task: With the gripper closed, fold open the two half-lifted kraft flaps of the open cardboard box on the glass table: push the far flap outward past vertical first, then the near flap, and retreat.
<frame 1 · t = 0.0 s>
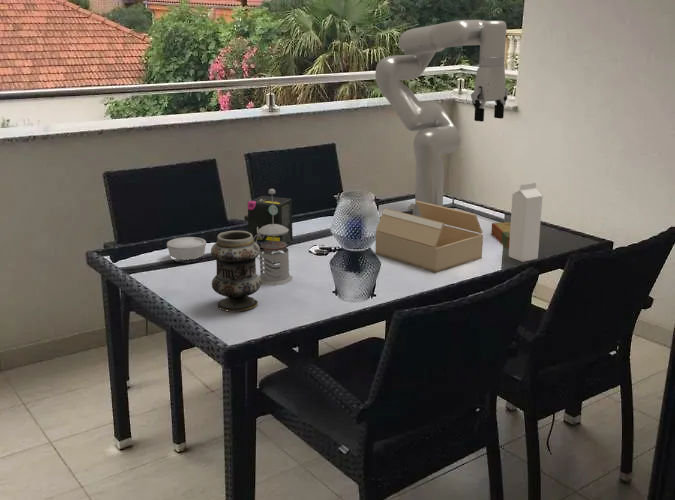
hand: (488, 119, 235), 37 cm above the table, tool pointing down, fingers open, 9 cm apart
milk: (523, 258, 221), on the table
tampon box: (271, 246, 235), on the table
apothecary jar: (237, 305, 187), on the table
near flap: (409, 226, 215), point 10 cm above the table, hinge at 60.0°
carton: (511, 242, 238), on the table
far flap: (448, 216, 225), point 10 cm above the table, hinge at 60.0°
kraft box: (428, 255, 223), on the table
french press: (272, 279, 205), on the table
ramekin: (187, 259, 223), on the table
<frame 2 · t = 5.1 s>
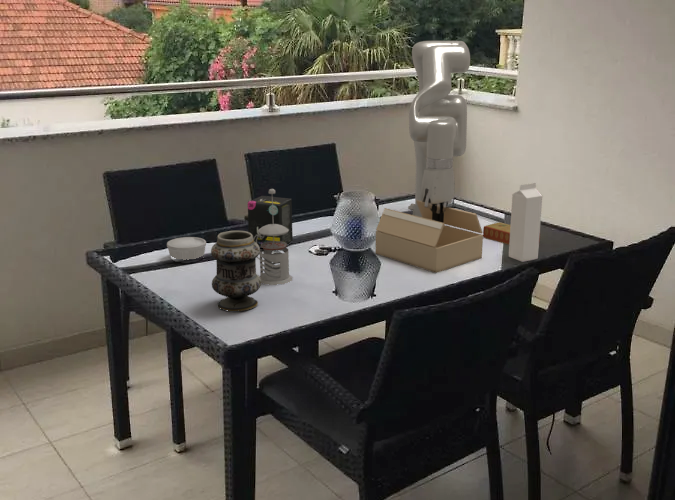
hand: (437, 224, 223), 9 cm above the table, tool pointing down, fingers closed
far flap: (448, 216, 226), point 11 cm above the table, hinge at 62.3°, touching gripper
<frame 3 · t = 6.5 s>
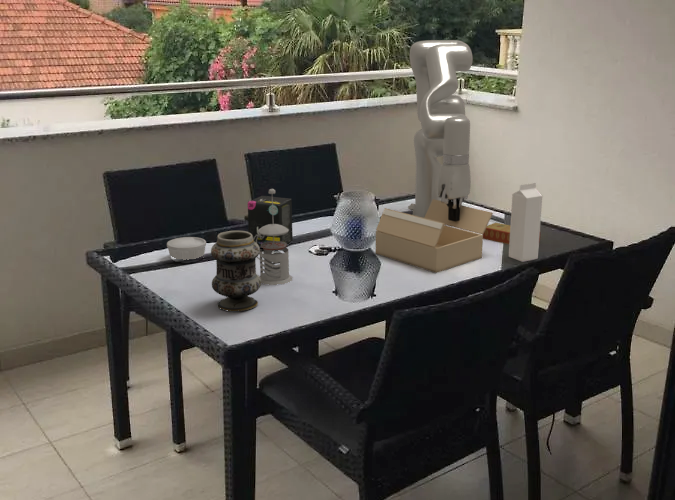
hand: (453, 220, 227), 9 cm above the table, tool pointing down, fingers closed
far flap: (457, 216, 228), point 10 cm above the table, hinge at 126.6°, touching gripper
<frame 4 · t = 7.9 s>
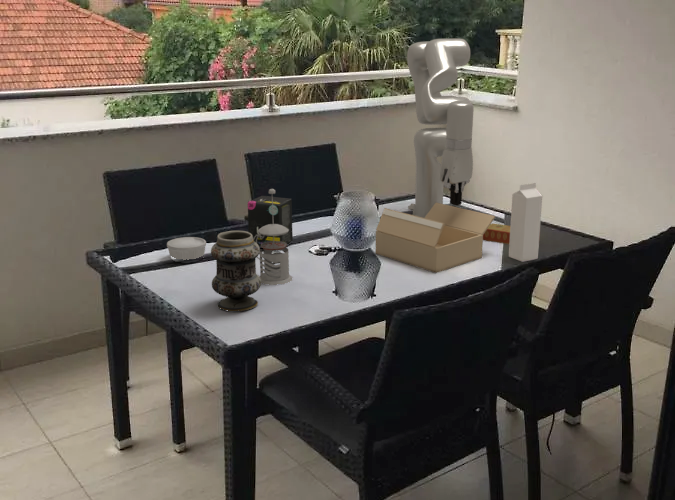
hand: (455, 204, 228), 13 cm above the table, tool pointing down, fingers closed
far flap: (458, 218, 229), point 9 cm above the table, hinge at 140.7°
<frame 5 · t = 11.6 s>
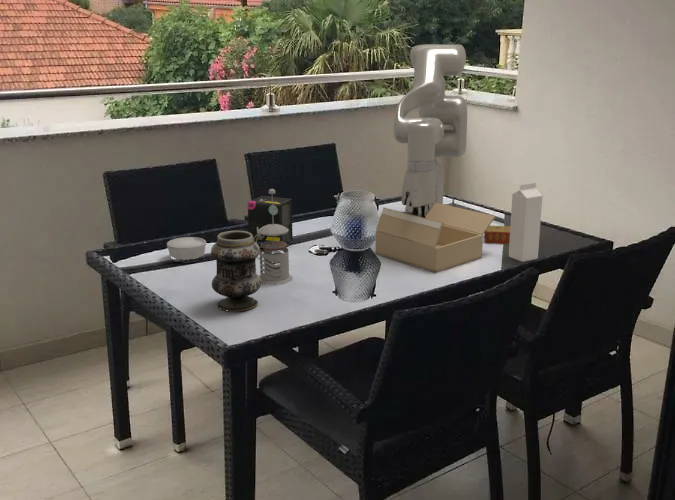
hand: (419, 228, 218), 9 cm above the table, tool pointing down, fingers closed
near flap: (408, 226, 215), point 11 cm above the table, hinge at 64.6°, touching gripper
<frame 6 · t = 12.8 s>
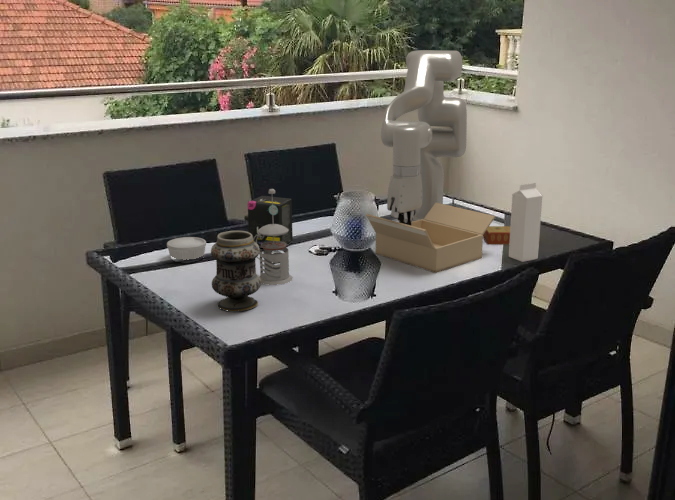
hand: (405, 234, 214), 9 cm above the table, tool pointing down, fingers closed
near flap: (399, 231, 213), point 10 cm above the table, hinge at 122.7°, touching gripper
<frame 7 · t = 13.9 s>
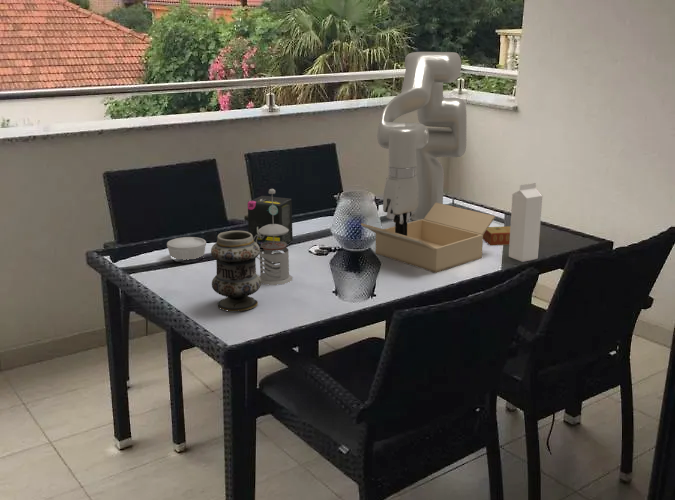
hand: (401, 236, 214), 8 cm above the table, tool pointing down, fingers closed
near flap: (396, 236, 212), point 9 cm above the table, hinge at 148.4°, touching gripper
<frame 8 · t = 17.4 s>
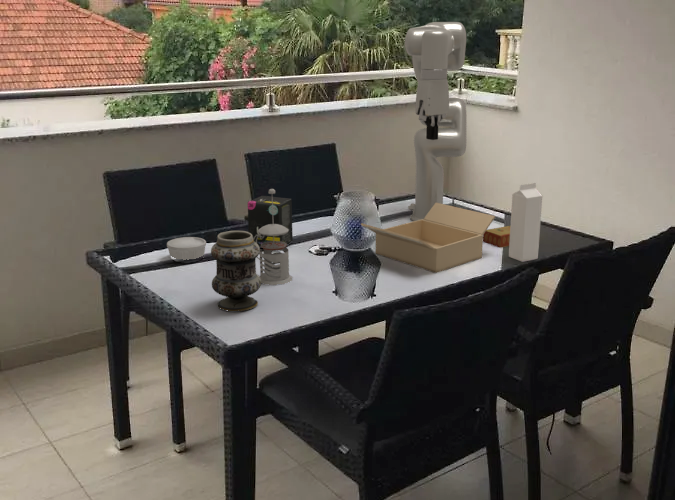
hand: (432, 139, 222), 33 cm above the table, tool pointing down, fingers closed
near flap: (396, 236, 212), point 9 cm above the table, hinge at 148.4°
at the end: far flap at +141° (first picture: +60°); near flap at +148° (first picture: +60°) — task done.
